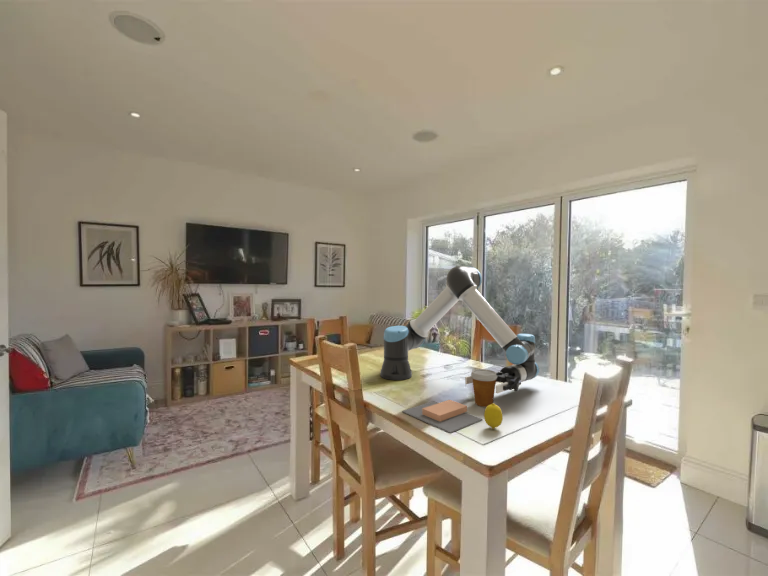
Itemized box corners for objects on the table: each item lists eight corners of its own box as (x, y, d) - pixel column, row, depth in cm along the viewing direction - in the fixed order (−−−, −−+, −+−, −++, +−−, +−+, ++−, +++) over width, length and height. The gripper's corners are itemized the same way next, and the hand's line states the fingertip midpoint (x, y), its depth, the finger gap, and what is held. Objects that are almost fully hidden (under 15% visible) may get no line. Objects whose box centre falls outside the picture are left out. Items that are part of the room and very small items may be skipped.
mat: (402, 411, 125) (402, 410, 125) (433, 401, 135) (433, 400, 135) (450, 433, 108) (450, 432, 108) (482, 420, 118) (482, 418, 118)
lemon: (498, 424, 114) (499, 400, 114) (505, 432, 109) (505, 406, 108) (481, 425, 114) (481, 400, 114) (487, 432, 108) (487, 406, 108)
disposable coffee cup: (500, 408, 128) (501, 375, 128) (474, 408, 128) (474, 375, 128) (492, 399, 138) (492, 368, 137) (468, 399, 138) (468, 368, 137)
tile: (449, 405, 130) (422, 414, 121) (449, 399, 130) (422, 408, 121) (467, 412, 124) (439, 422, 115) (467, 405, 124) (439, 415, 115)
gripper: (542, 391, 135) (511, 404, 122) (486, 377, 155) (454, 386, 141) (542, 372, 135) (511, 382, 122) (486, 360, 154) (454, 368, 141)
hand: (480, 384), depth 131 cm, fingers open, 13 cm apart
